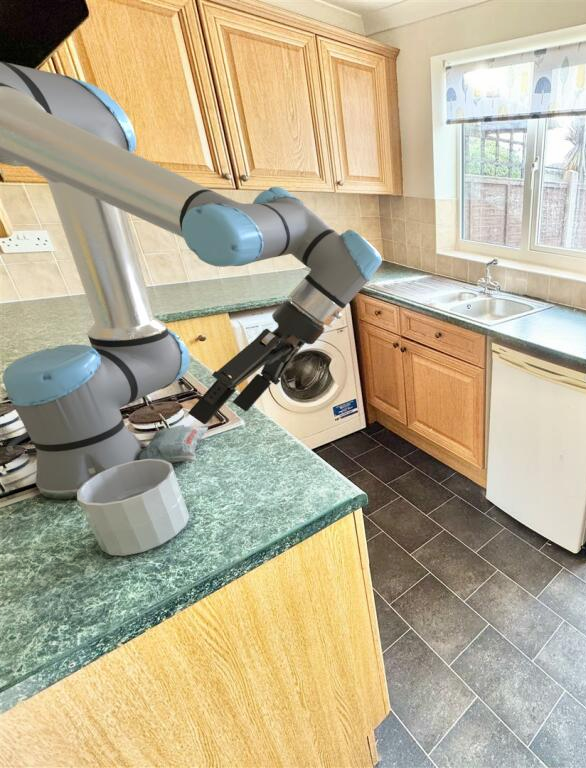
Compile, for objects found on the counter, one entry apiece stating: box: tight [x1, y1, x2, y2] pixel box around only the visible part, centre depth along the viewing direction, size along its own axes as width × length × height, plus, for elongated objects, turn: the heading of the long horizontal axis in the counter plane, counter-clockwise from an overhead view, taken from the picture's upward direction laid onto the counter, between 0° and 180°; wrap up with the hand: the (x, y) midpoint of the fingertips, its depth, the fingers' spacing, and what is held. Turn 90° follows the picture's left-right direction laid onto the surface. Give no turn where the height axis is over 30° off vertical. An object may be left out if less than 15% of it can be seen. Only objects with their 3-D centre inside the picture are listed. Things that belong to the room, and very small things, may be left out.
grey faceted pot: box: [76, 459, 190, 557], centre depth 64 cm, size 11×11×10 cm
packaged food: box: [139, 424, 209, 464], centre depth 83 cm, size 9×12×5 cm
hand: (220, 412), depth 68 cm, fingers open, 13 cm apart
